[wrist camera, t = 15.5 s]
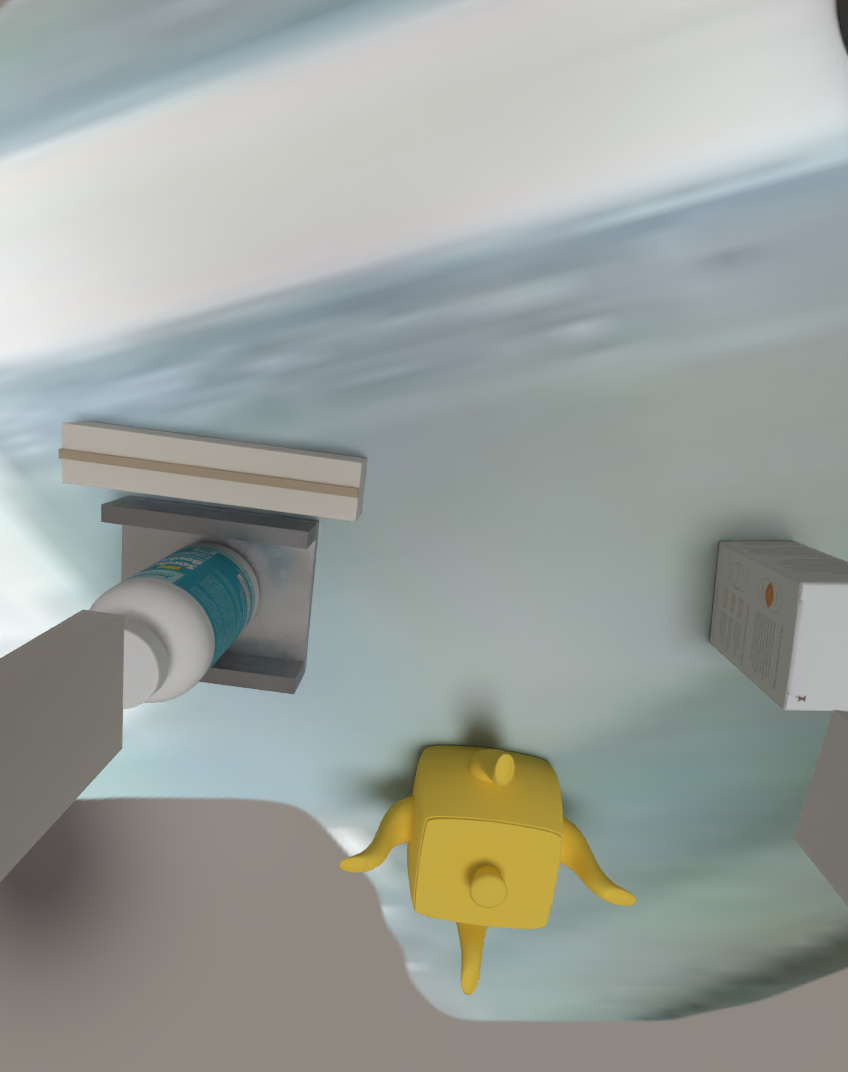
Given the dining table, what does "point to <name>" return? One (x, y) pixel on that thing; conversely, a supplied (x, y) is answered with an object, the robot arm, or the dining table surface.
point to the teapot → (484, 844)
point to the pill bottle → (180, 618)
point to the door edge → (213, 470)
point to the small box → (784, 621)
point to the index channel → (276, 559)
